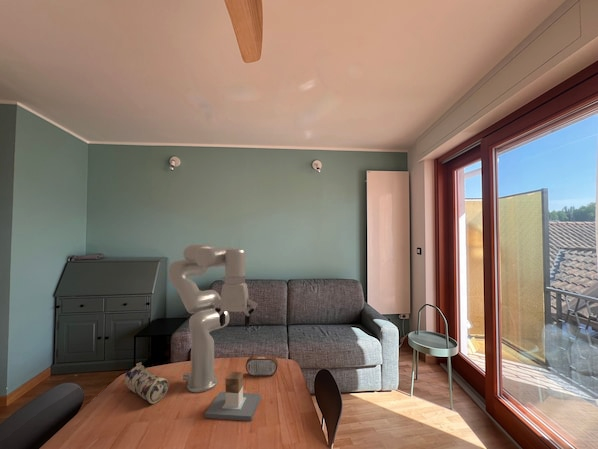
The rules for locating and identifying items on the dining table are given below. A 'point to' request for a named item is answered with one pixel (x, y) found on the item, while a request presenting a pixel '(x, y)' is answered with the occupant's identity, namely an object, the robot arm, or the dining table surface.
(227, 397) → the off-white block
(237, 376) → the walnut block
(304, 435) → the dining table surface
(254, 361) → the tin
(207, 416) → the grey tray
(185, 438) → the dining table surface
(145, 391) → the pencil case
